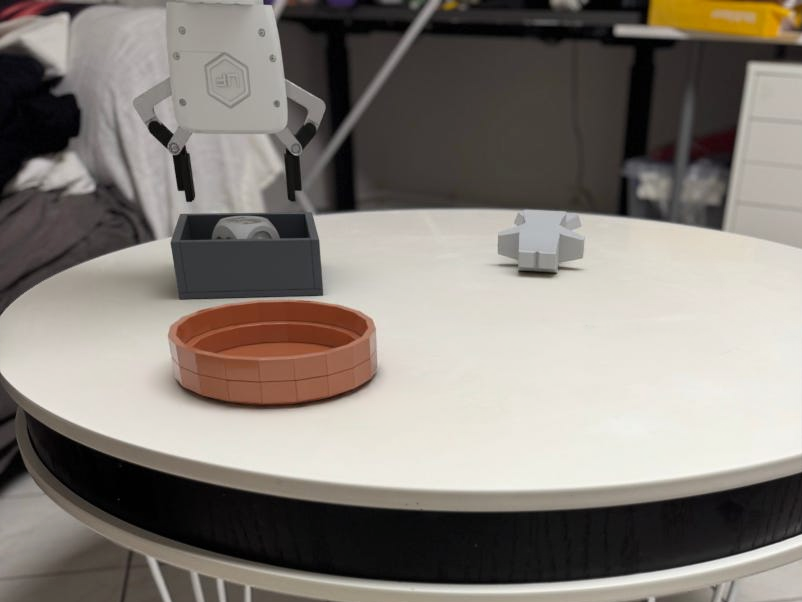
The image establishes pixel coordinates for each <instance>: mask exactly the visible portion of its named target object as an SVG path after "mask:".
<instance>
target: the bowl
mask: <svg viewBox="0 0 802 602" xmlns="http://www.w3.org/2000/svg"><path fill="white" fill-rule="evenodd" d="M167 341H168V345H169V353H170V356H171V363H172V369H173V375H174V378H175V380H177V382H178V383H179V384H180V385H181V387H182V388H185V389H187V390H189V391H192V392H193V393H195V394H198V395H200V396H203V397H208V398H210V399H213V400H214V399H215V400H217V401H222V402H227V403H233V404H243V405H253V406H254V405H255V406H256V405H257V406H277V405H293V404H302V403H308V402H315V401H319V400H320V401H321V400H324V399H328V398H331V397H335V396H338V395H341V394H344V393H347V392H349V391H352V390H354V389H356V388H358V387H360V386H361V385H363V384H364V383H366V382H368V381H369V380H371V379H372V378H373V376H374V375H375V373H376V372H377V370H378V368H379V367H378V349H377V348H378V345H377V327H376V325H375V322H374V320H373V318H372V317H370V316H368V315H367V314H366V313H364V312H363V311H361V310H358V309H354V308H351V307H348V306H345V305H341V304H336V303H329V302H323V301H317V300H316V301H315V300H303V299H302V300H301V299H265V300H264V299H257V300H250V301H249V300H248V301H241V302H232V303H225V304H220V305H216V306H211V307H207V308H202V309H199V310H197V311H194V312H192V313H188V314H186V315H183V316H181V317H180V318H179V319H177V320H176V321H175V322H173V323H172V324H171V325H170V326H169V328H168V333H167Z"/></svg>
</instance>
